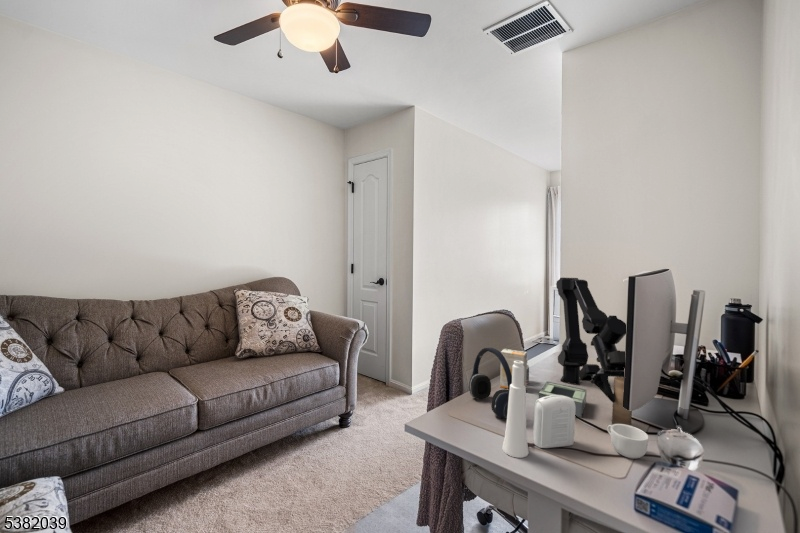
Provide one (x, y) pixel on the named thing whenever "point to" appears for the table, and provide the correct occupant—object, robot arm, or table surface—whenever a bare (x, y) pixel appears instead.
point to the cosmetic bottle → (516, 415)
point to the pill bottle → (527, 375)
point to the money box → (566, 394)
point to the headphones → (482, 385)
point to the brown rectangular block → (620, 404)
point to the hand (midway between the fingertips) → (625, 402)
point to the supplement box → (510, 358)
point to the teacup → (628, 440)
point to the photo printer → (554, 421)
